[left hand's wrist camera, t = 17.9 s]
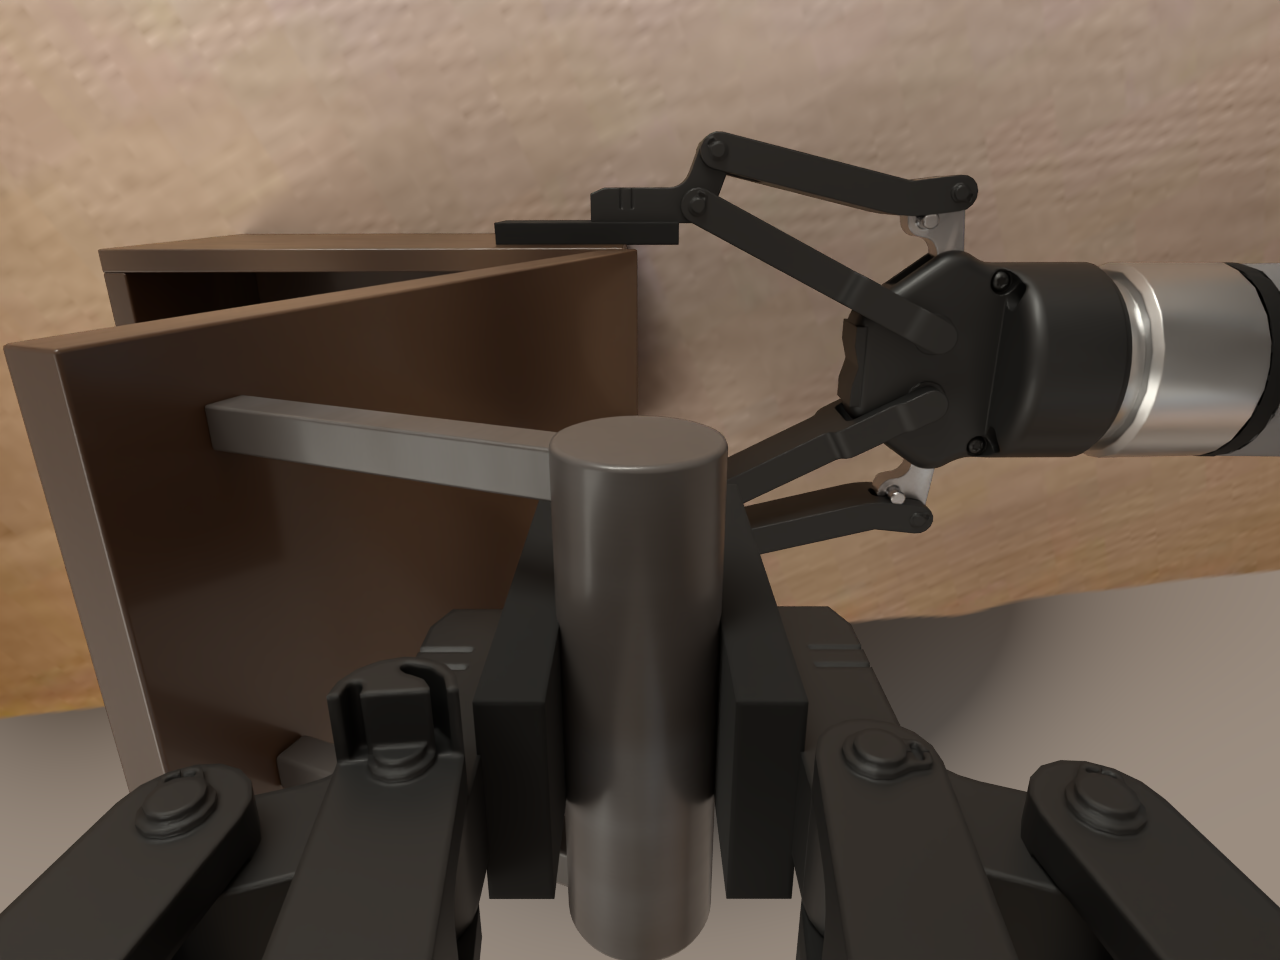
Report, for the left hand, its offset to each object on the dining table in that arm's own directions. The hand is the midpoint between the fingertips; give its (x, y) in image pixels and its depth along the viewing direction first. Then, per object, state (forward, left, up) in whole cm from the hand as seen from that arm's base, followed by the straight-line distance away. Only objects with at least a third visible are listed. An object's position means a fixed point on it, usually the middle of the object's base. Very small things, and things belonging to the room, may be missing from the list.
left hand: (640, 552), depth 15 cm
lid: (-4, 0, -5) cm, 7 cm away
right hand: (-5, 0, -17) cm, 18 cm away
